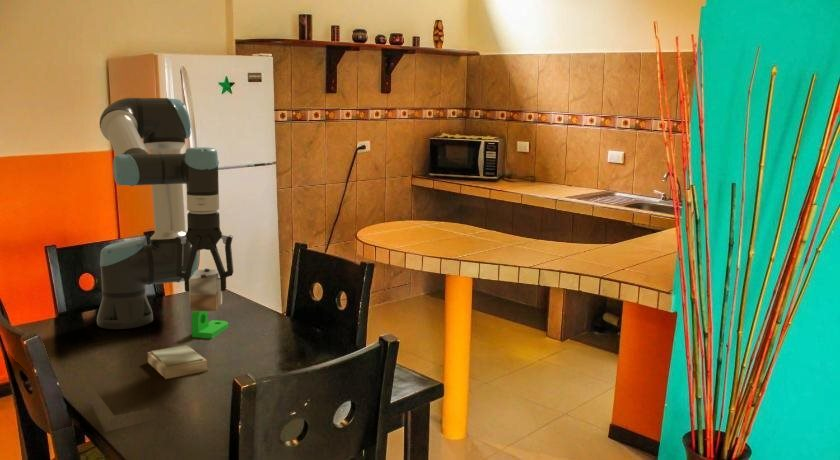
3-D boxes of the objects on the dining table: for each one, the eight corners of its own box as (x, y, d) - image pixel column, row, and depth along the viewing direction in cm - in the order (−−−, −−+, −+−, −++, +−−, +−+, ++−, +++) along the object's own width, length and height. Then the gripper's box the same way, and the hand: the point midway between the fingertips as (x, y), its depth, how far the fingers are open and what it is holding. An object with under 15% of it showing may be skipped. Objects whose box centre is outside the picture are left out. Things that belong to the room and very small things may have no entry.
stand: (147, 362, 184) (147, 350, 183) (187, 355, 190) (187, 343, 189) (165, 379, 173) (165, 366, 172) (207, 370, 179) (207, 358, 178)
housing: (190, 311, 178) (189, 276, 177) (196, 300, 188) (195, 267, 187) (216, 310, 179) (215, 276, 178) (221, 299, 189) (220, 267, 188)
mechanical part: (212, 340, 203) (211, 312, 202) (192, 338, 204) (191, 310, 203) (231, 328, 215) (231, 301, 213) (212, 326, 216) (211, 300, 215)
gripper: (159, 213, 175) (163, 308, 179) (242, 213, 178) (244, 307, 181) (165, 209, 182) (169, 300, 186) (244, 209, 185) (246, 299, 189)
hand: (206, 303), depth 184 cm, fingers closed on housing, 6 cm apart
